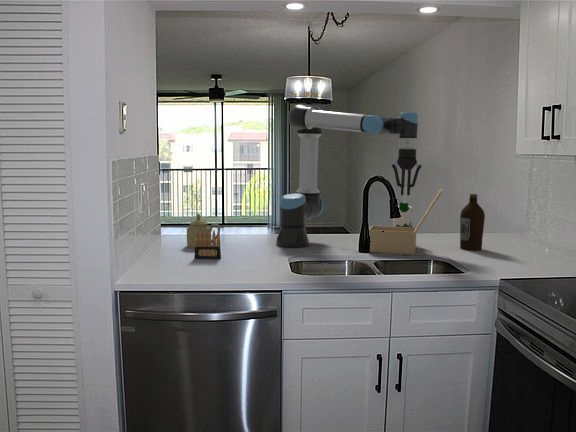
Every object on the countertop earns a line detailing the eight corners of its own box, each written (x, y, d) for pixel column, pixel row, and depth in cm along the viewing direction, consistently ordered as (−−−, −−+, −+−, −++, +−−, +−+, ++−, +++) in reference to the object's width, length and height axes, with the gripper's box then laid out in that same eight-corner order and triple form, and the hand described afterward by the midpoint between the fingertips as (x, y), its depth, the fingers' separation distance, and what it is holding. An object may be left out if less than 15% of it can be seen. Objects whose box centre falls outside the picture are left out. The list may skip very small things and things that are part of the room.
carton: (367, 252, 250) (368, 229, 249) (371, 247, 262) (371, 225, 261) (414, 255, 245) (414, 232, 243) (415, 249, 257) (416, 227, 256)
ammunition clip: (194, 258, 233) (193, 229, 232) (195, 258, 235) (194, 229, 233) (220, 259, 233) (220, 230, 232) (221, 258, 235) (220, 229, 233)
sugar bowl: (218, 243, 268) (218, 211, 266) (220, 248, 257) (220, 214, 255) (186, 244, 265) (186, 212, 263) (187, 248, 254) (186, 215, 253)
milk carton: (393, 245, 267) (394, 203, 264) (391, 242, 276) (393, 201, 273) (412, 246, 266) (414, 203, 263) (410, 242, 275) (411, 201, 272)
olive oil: (473, 246, 268) (475, 192, 264) (488, 250, 258) (491, 195, 254) (453, 247, 264) (456, 193, 261) (468, 251, 254) (471, 195, 251)
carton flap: (440, 191, 238) (442, 192, 238) (440, 188, 251) (442, 189, 251) (414, 231, 243) (416, 232, 243) (416, 226, 256) (418, 227, 256)
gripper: (391, 148, 244) (389, 202, 248) (422, 148, 241) (419, 204, 244) (393, 147, 252) (390, 201, 255) (423, 148, 248) (420, 202, 251)
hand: (404, 202), depth 250 cm, fingers closed
